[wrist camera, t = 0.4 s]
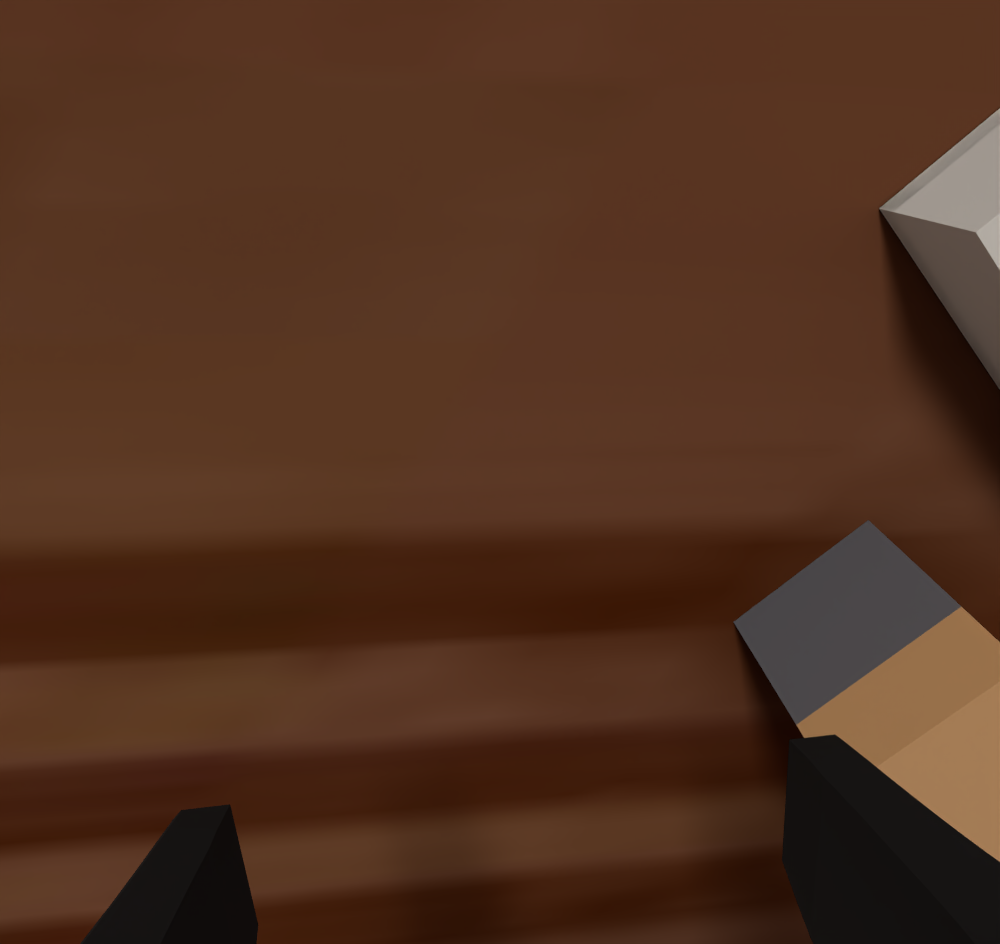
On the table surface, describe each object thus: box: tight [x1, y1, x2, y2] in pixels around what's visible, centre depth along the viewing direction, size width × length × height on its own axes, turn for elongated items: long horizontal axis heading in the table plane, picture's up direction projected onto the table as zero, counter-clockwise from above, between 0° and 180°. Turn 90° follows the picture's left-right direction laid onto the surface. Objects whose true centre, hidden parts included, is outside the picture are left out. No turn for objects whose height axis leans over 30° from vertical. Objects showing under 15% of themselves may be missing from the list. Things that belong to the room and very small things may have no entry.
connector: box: [734, 520, 1000, 862], centre depth 20 cm, size 4×4×6 cm
